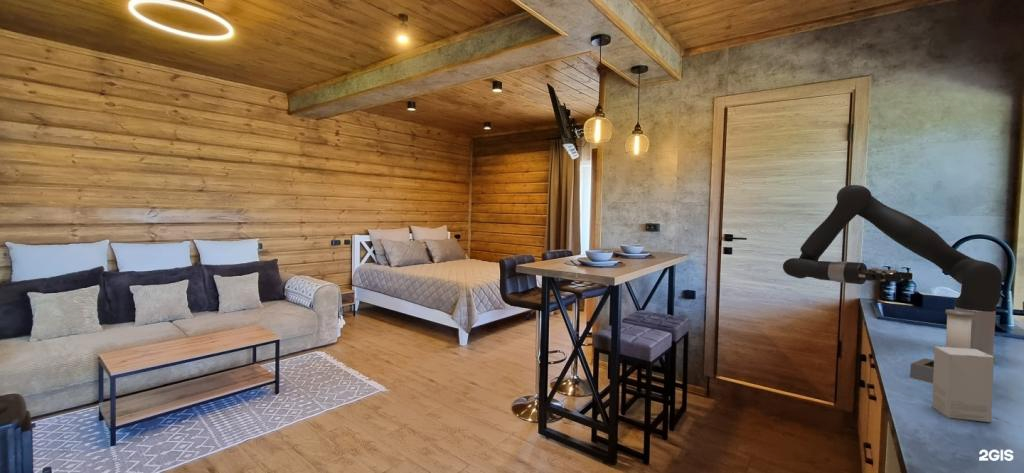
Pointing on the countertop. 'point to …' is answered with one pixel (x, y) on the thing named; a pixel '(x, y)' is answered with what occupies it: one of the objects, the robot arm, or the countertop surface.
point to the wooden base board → (922, 370)
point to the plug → (958, 328)
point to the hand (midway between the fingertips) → (906, 277)
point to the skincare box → (963, 383)
